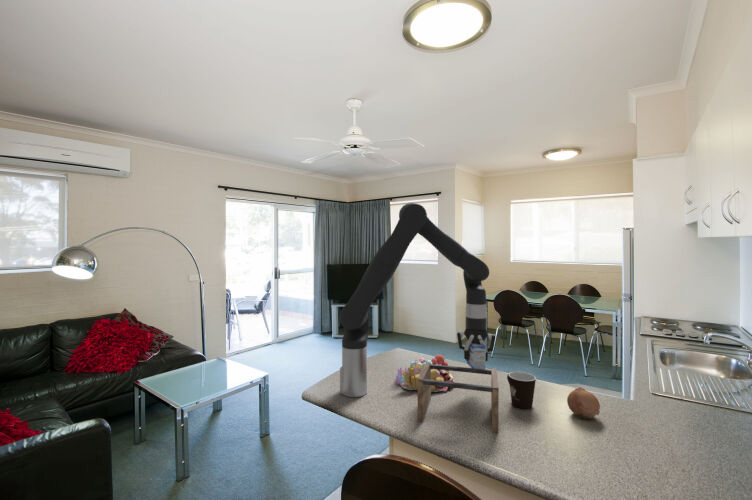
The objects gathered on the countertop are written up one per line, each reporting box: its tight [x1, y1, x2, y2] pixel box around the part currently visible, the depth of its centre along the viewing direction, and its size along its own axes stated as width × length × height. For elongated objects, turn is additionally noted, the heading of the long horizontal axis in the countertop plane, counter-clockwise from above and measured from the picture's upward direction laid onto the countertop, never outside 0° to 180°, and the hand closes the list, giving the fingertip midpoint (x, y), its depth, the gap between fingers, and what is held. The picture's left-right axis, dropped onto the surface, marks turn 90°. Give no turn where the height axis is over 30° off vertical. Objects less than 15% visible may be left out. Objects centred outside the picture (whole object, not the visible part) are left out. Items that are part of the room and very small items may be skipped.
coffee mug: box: [506, 371, 537, 411], centre depth 121 cm, size 12×9×10 cm
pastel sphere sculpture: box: [395, 354, 455, 393], centre depth 142 cm, size 25×24×9 cm
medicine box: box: [466, 343, 487, 369], centre depth 130 cm, size 8×4×9 cm, turn 4°
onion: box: [566, 386, 601, 420], centre depth 112 cm, size 9×9×10 cm
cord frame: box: [417, 362, 500, 433], centre depth 114 cm, size 24×17×13 cm
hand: (475, 361), depth 130 cm, fingers closed on medicine box, 5 cm apart
